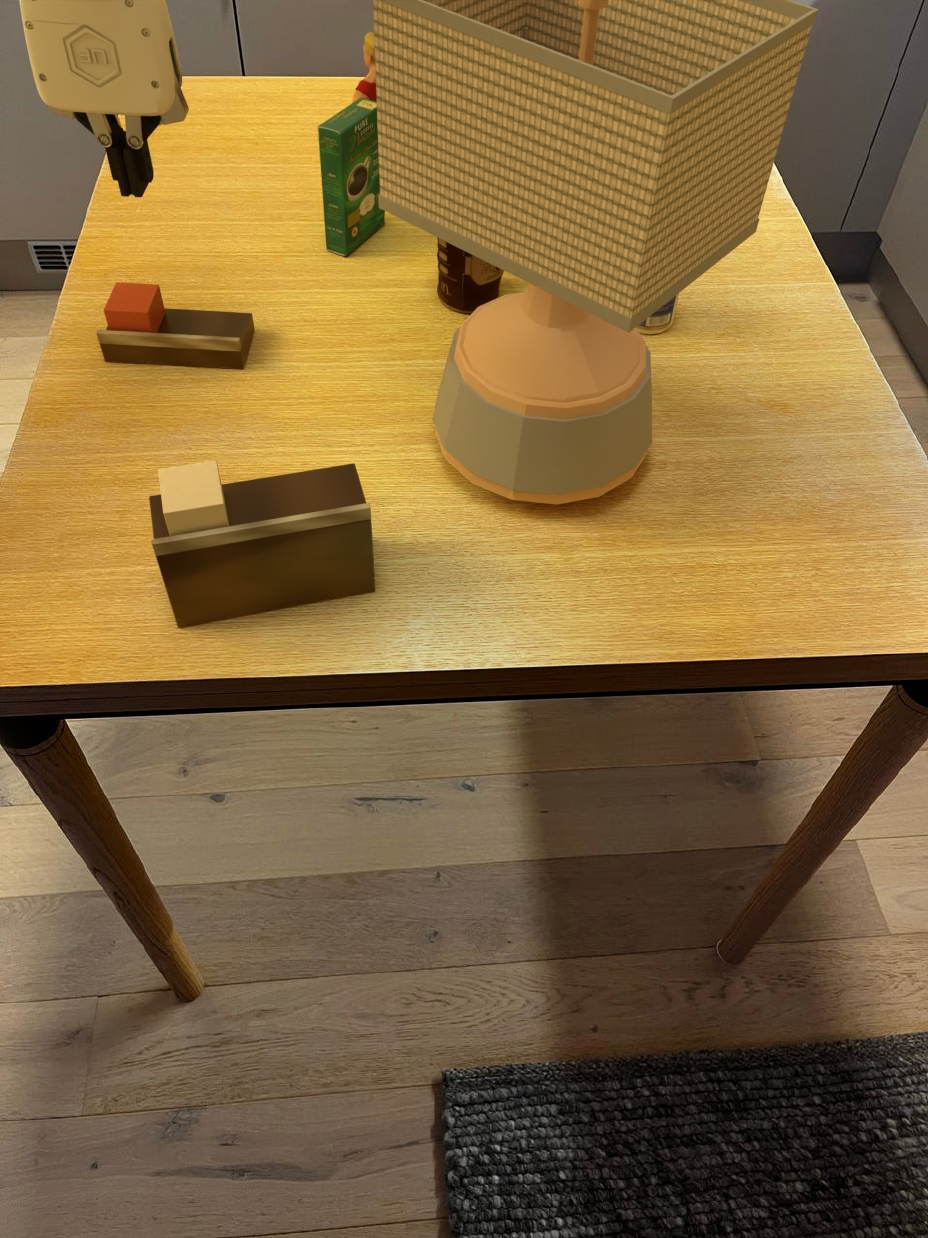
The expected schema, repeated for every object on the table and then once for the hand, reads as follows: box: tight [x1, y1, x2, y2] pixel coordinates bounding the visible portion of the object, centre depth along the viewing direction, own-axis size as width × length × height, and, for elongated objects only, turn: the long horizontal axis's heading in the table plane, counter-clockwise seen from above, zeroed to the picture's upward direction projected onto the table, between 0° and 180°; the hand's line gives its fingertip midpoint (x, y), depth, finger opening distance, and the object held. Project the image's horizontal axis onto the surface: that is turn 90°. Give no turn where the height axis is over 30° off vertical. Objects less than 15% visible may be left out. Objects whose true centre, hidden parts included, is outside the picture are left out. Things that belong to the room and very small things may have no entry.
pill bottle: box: [636, 293, 680, 335], centre depth 97 cm, size 5×5×9 cm
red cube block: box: [103, 281, 166, 333], centre depth 93 cm, size 4×4×3 cm
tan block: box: [157, 459, 229, 536], centre depth 69 cm, size 4×4×3 cm
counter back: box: [95, 307, 256, 370], centre depth 94 cm, size 13×6×3 cm, turn 87°
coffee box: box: [317, 98, 386, 257], centre depth 103 cm, size 8×3×13 cm, turn 151°
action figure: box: [351, 31, 377, 104], centre depth 111 cm, size 10×4×15 cm, turn 140°
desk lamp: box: [372, 0, 819, 505], centre depth 74 cm, size 22×19×37 cm
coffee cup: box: [436, 237, 505, 314], centre depth 97 cm, size 9×8×13 cm
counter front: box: [148, 462, 376, 628], centre depth 74 cm, size 15×6×9 cm, turn 105°
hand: (136, 188), depth 83 cm, fingers closed
